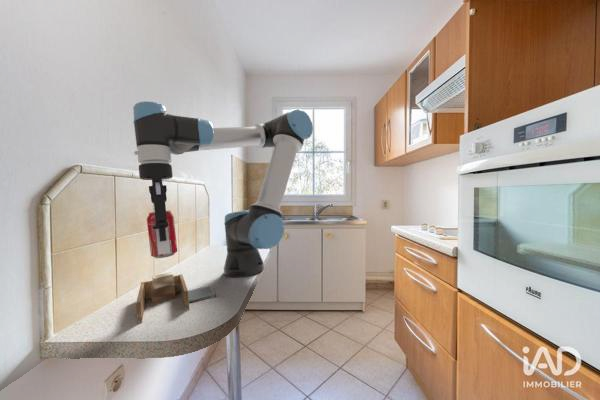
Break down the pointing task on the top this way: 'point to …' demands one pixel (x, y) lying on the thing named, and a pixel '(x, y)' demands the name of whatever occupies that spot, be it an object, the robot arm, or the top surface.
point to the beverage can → (153, 238)
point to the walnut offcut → (162, 293)
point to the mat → (200, 294)
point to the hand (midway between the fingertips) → (164, 251)
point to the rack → (146, 293)
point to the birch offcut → (162, 280)
